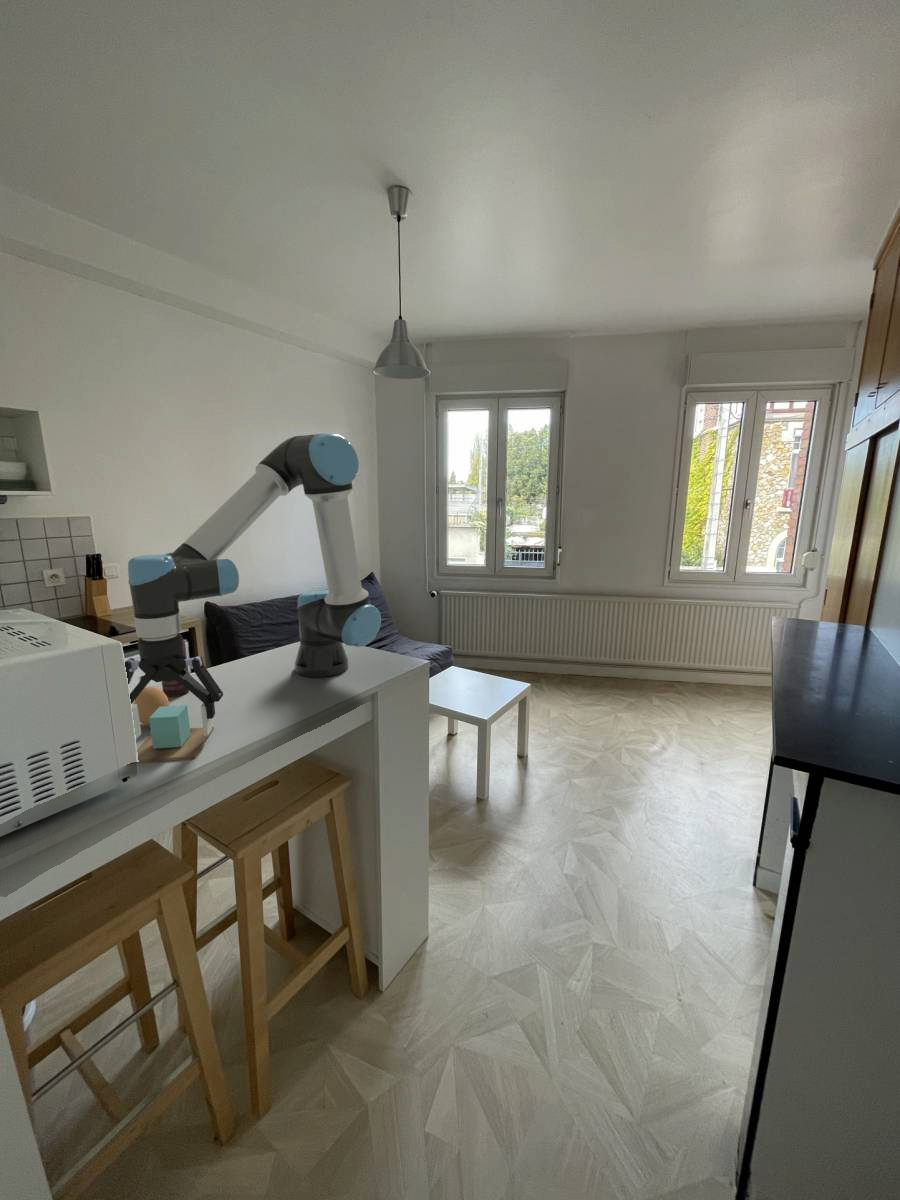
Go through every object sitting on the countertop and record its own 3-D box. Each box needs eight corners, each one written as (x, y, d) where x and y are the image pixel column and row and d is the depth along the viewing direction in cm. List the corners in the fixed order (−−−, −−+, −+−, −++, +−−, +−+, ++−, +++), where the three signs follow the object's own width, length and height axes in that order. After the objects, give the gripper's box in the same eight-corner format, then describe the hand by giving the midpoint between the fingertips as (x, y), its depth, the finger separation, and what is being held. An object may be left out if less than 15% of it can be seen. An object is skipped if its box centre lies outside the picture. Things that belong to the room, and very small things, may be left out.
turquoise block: (190, 734, 103) (187, 705, 102) (181, 746, 98) (177, 716, 97) (163, 735, 102) (159, 706, 101) (153, 748, 97) (149, 718, 96)
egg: (152, 716, 113) (147, 679, 111) (178, 719, 112) (173, 682, 110) (128, 730, 107) (122, 691, 104) (155, 733, 105) (150, 694, 103)
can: (179, 698, 123) (173, 645, 119) (157, 696, 124) (150, 643, 121) (196, 688, 128) (191, 637, 125) (175, 686, 130) (169, 635, 126)
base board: (213, 729, 107) (213, 726, 107) (194, 758, 96) (194, 756, 96) (154, 733, 105) (153, 730, 105) (127, 763, 94) (127, 760, 94)
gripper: (232, 627, 101) (241, 722, 106) (99, 631, 97) (114, 730, 102) (222, 638, 94) (232, 739, 98) (77, 643, 90) (95, 748, 94)
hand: (172, 735), depth 100 cm, fingers open, 13 cm apart
